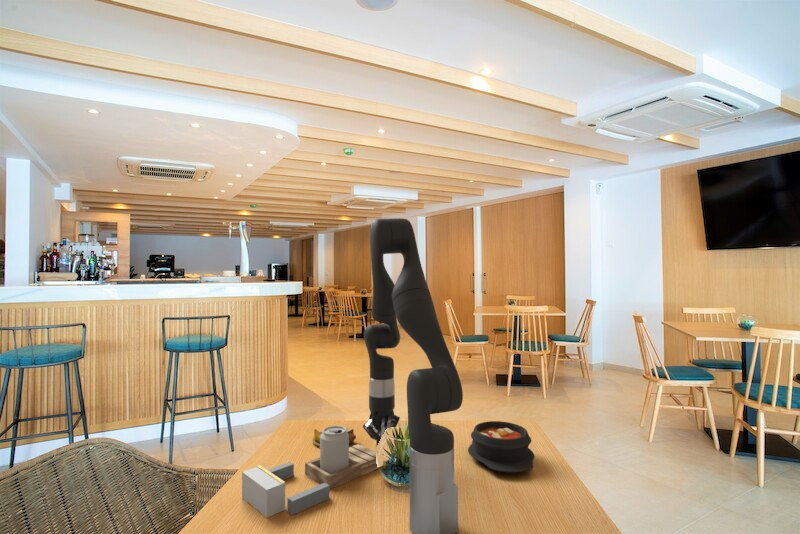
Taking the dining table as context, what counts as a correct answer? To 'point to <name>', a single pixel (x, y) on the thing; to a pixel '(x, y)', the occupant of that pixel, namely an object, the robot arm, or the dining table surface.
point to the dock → (278, 490)
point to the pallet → (359, 465)
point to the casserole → (502, 446)
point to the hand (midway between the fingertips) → (381, 452)
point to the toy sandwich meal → (317, 434)
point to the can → (334, 449)
